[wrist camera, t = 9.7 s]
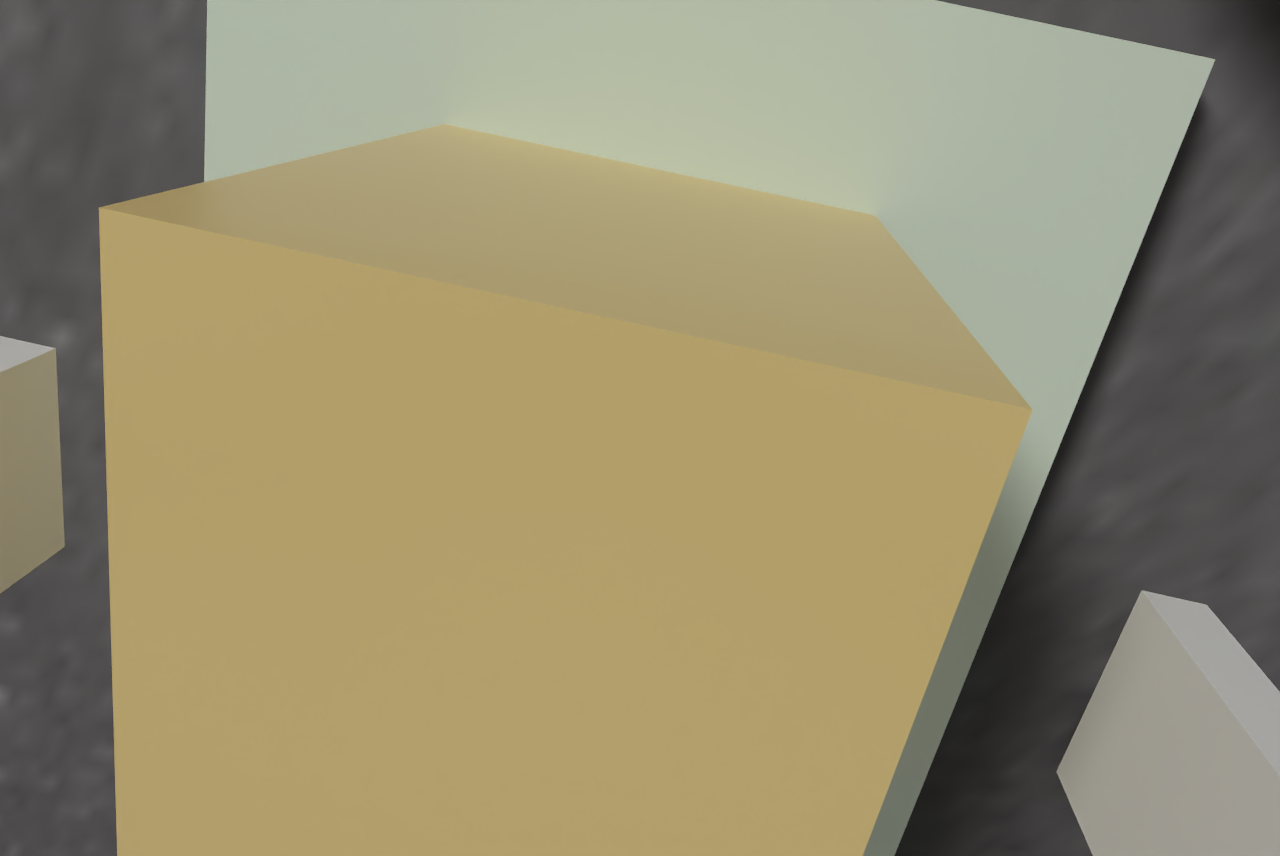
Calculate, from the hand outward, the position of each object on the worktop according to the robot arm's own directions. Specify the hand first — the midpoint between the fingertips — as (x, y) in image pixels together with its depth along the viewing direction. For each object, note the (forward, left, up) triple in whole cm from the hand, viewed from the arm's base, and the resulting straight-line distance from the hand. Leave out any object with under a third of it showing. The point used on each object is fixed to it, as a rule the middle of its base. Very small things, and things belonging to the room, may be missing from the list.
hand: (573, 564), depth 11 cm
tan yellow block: (0, 0, -2) cm, 2 cm away
